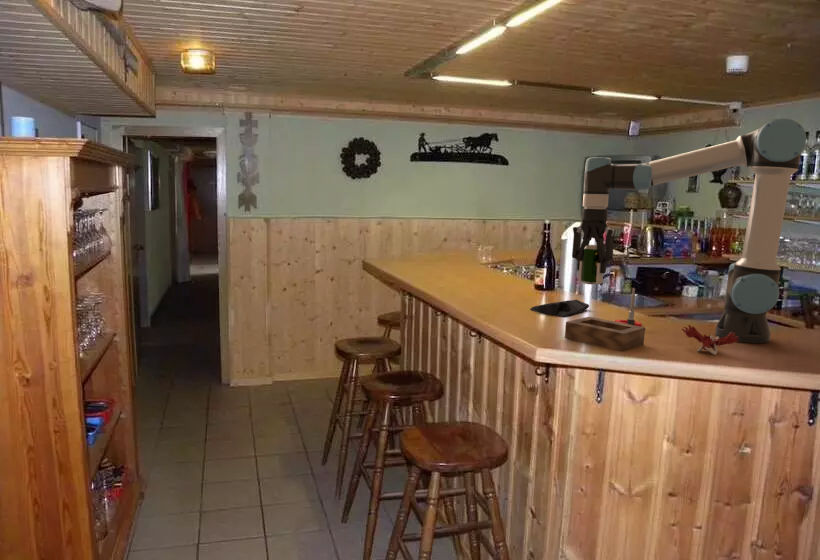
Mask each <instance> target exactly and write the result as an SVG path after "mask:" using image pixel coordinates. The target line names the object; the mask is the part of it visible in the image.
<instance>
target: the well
mask: <svg viewBox="0 0 820 560" xmlns="http://www.w3.org/2000/svg"><path fill="white" fill-rule="evenodd" d="M564 329H565V330H564V331H565V332H564V339H565V338H567V339H566V340H570V339H571V341H574V340H575V342H579V343H583V344H588V345H591V346H597V347H600V348H605V349H611V350H615V351H619V352H625V351H628V350H631V349H634V348H637V347H640V346H643V345H645V336H646V335H645V334H646V327H643V326H641V327H640V326H634V325H629V324H624V323H619V322H615V320H607V319H604V318H599V317H592V316H586V317H581V318H577V319H573V320H568V321H565V328H564Z"/></svg>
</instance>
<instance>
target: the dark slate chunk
mask: <svg viewBox="0 0 820 560" xmlns="http://www.w3.org/2000/svg"><path fill="white" fill-rule="evenodd" d="M589 308H590V304H588V303H585V302H584V301H581V300H578V299H571V300H563V301H557V302H549V303H544V304H540V305H534V306H531V307H530V309H529V310H530V311H531V312H535V313H539V314H543V315H548V316H554V317H562V318H567V317H569V316H573V315H576V314H578V313H582V312H583V311H585V310H587V309H589Z"/></svg>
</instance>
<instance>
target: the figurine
mask: <svg viewBox="0 0 820 560" xmlns="http://www.w3.org/2000/svg"><path fill="white" fill-rule="evenodd" d="M681 330H682V331H683V333H684V334H685V335H686V336H687V338H689V339H690V338H691V339H692V338H693V339H695V340H696V341H698V342H699V343H702V345H701V346H700V347H699V348H698V349H697V350H696V352H700V351H701V350H703V351H708V352H710V353H711V354H712V355H713V356H716V355H717V354H718V348H717V347H718V346H719V347H721V346H723V345H725V346H726V345H731V344H733V343H738V342H739V341H738V340H739V339H738V340H737V338H739V337H734V336H735V335H736V334H735V332H734V334H732V333H733V332H730V333H729V334H728V335H727V336H725V337H723V338H721V337H719V336H717V335H716V337H715V336H714V335H713V334H711V335H708V336H707V334H703V335H702V333H700V332H699V331H698V329H697V328H695V326H693V325H691V324H688V327H686V326H683V327H682V328H681Z"/></svg>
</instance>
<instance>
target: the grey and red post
mask: <svg viewBox="0 0 820 560" xmlns="http://www.w3.org/2000/svg"><path fill="white" fill-rule="evenodd" d="M635 291H636V288H635V287H632V291H631V295H630V306H629V311H628V318H626V319H615V320H614V322H619V323H624V324H629V325H634V326H640V327H642V322H640V321H636V320H635V299H636V292H635Z"/></svg>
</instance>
